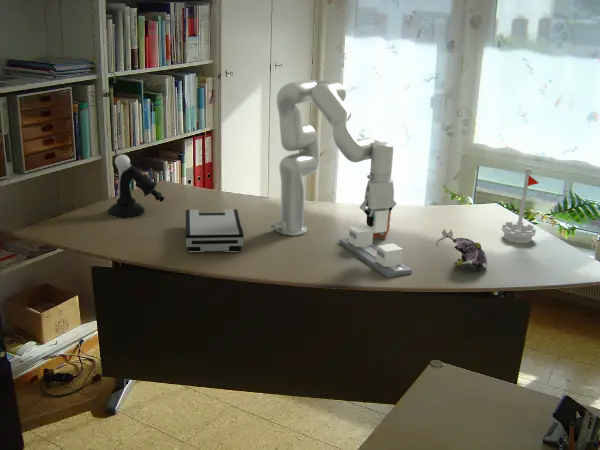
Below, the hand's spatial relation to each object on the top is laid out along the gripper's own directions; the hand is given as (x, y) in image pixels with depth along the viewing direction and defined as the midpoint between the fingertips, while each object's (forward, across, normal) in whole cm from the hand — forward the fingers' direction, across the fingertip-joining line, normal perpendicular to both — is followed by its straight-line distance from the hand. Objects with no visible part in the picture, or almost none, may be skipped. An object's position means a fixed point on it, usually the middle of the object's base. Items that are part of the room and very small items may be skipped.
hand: (376, 224), depth 253 cm
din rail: (+12, 0, 0) cm, 12 cm away
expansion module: (+2, 0, 0) cm, 2 cm away
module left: (+11, 0, +10) cm, 15 cm away
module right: (+11, 0, -10) cm, 15 cm away
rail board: (+13, 0, 0) cm, 13 cm away
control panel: (+13, +16, +21) cm, 30 cm away
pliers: (+14, +38, +7) cm, 41 cm away
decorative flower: (+14, +28, -20) cm, 37 cm away
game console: (+13, -50, +38) cm, 64 cm away
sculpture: (+13, -70, +78) cm, 106 cm away
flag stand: (+14, +67, -3) cm, 68 cm away
